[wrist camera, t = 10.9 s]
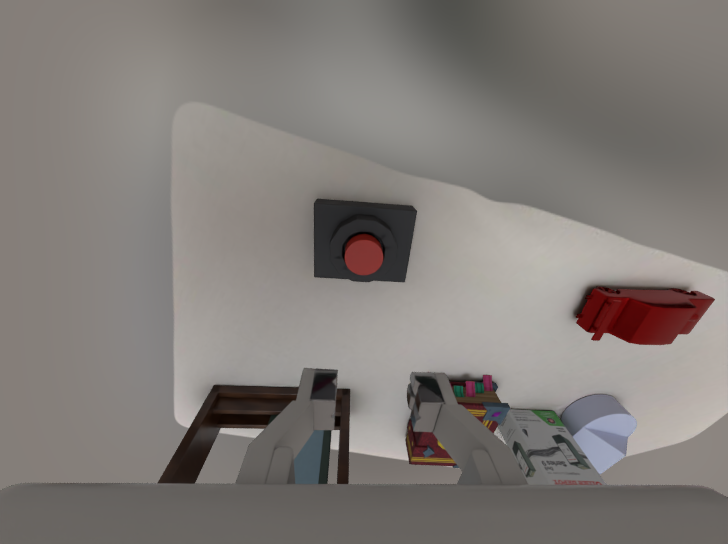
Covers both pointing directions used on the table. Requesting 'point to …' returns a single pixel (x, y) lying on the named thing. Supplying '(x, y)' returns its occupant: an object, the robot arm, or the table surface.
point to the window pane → (312, 458)
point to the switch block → (353, 218)
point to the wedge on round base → (600, 429)
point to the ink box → (546, 449)
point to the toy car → (642, 314)
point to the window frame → (245, 425)
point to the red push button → (363, 254)
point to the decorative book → (477, 402)
